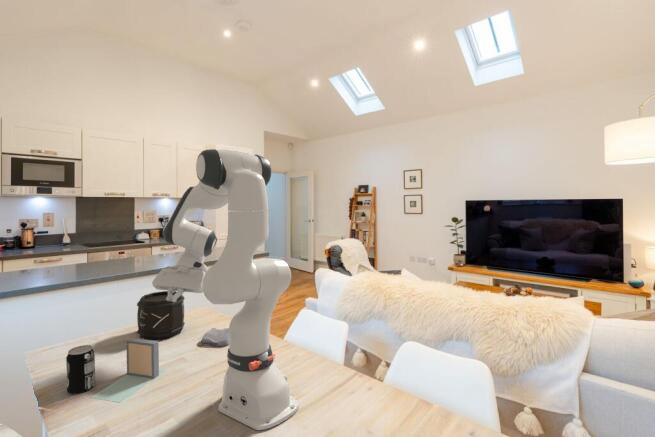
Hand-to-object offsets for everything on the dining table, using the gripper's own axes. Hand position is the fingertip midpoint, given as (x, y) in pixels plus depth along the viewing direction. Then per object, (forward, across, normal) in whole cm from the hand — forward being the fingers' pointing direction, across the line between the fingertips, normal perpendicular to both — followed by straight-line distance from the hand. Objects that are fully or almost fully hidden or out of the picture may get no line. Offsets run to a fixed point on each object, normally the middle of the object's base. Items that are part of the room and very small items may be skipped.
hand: (170, 300), depth 115 cm
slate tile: (+23, 0, +5) cm, 24 cm away
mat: (+27, 0, +2) cm, 27 cm away
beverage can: (+31, -12, -2) cm, 33 cm away
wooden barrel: (+2, -19, +27) cm, 33 cm away
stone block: (+3, +9, +27) cm, 28 cm away
